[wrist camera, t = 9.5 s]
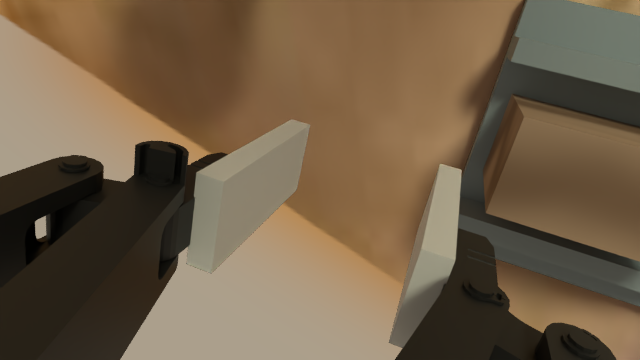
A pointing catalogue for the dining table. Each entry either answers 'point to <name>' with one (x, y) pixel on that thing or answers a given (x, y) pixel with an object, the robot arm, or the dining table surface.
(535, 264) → the grey grooved base
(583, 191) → the brown rectangular block
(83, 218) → the robot arm
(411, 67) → the dining table surface
